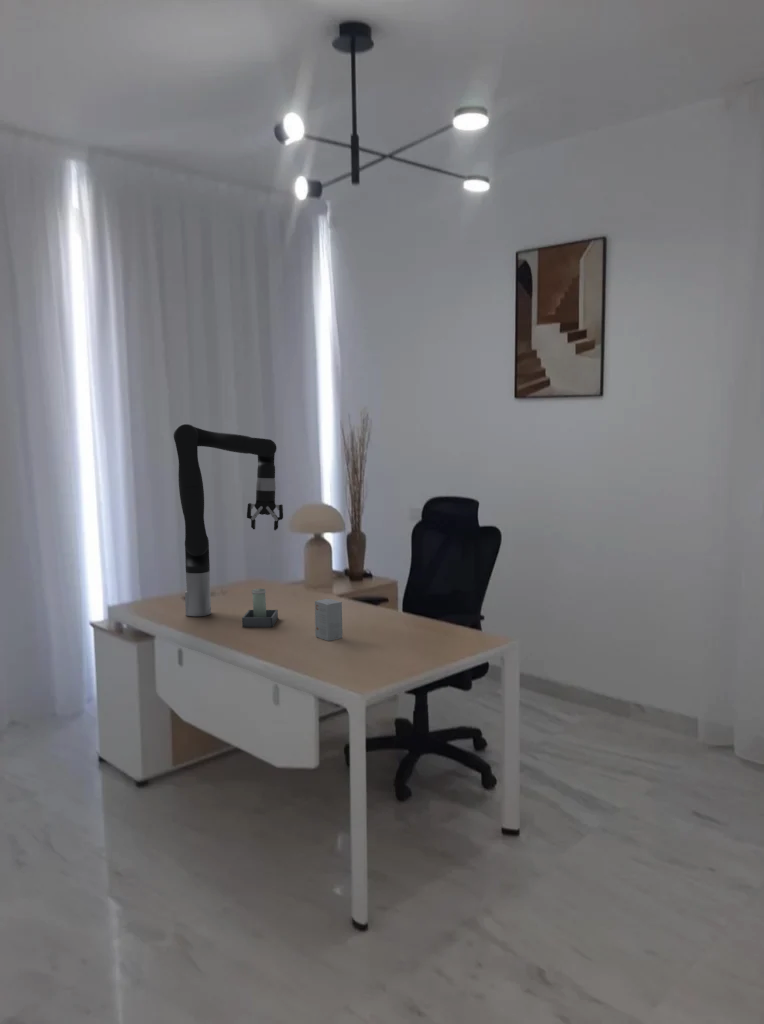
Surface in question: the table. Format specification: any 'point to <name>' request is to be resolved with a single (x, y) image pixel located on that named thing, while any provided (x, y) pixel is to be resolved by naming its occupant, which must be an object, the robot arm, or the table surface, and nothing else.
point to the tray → (260, 619)
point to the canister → (259, 603)
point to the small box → (328, 619)
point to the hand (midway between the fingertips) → (264, 529)
